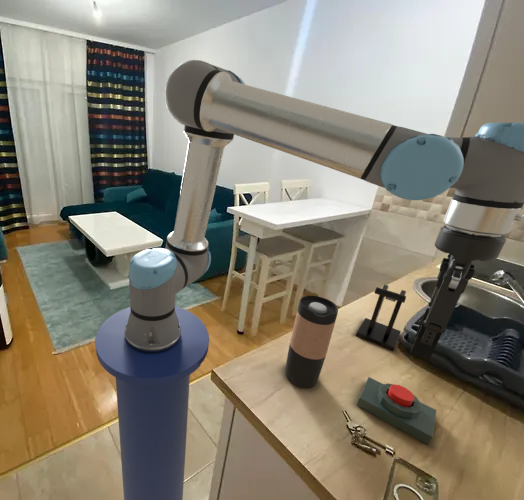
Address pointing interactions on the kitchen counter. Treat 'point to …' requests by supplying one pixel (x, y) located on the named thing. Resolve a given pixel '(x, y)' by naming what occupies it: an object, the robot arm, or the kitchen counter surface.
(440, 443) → the kitchen counter surface
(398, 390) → the button
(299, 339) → the travel mug
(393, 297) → the lever
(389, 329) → the bracket
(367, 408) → the button box
